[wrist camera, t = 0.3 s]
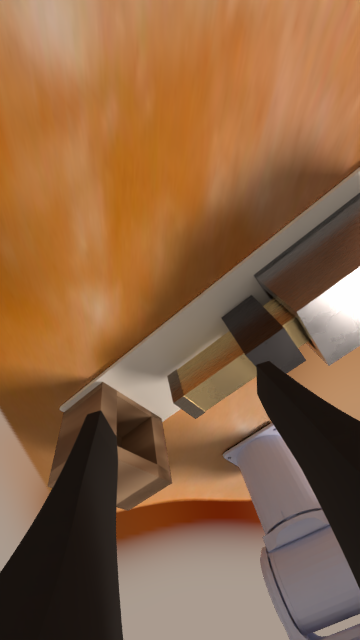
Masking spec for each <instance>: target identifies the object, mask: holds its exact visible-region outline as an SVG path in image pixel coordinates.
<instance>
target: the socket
mask: <svg viewBox="0 0 360 640" xmlns="http://www.w3.org/2000/svg"><path fill="white" fill-rule="evenodd" d="M100 410H101V411H102V413H103V414H104V416H105V418H106V420H107V421H108V423H109V425H110V426H111V428H112V430H113V432H114V433H115V435H116V437H117V449H118V481H117V504H116V507H118V508H121V509H125V510H130V509H132V508H133V507H135V506H136V505H138V504H139V503H141V502H143V501H144V500H146V499H147V498H149V497H151V496H152V495H154V494H155V493H157V492H158V491H160V490H162V489H163V488H165V487H166V486H168V485H170V484H171V483H172V479H171V473H170V467H169V461H168V455H167V448H166V442H165V436H164V430H163V424H162V418H160V417H159V416H157V415H156V414H154V413H152V412H151V411H149V410H148V409H146V408H144V407H143V406H141V405H139V404H138V403H136V402H135V401H133V400H131V399H130V398H128V397H127V396H125V395H123V394H122V393H120V392H119V391H117V390H115V389H114V388H112V387H111V386H109V385H107V384H106V383H104V382H102V383H100V384H99V385H98V386H97V387H95V388H94V389H93V390H91V391H90V392H89V393H88V394H86V395H85V396H84V397H83V398H81V399H80V400H79V401H78V402H76V403H75V404H74V405H72V406H71V407H70V408H69V409H67V410H66V411H65V412H64V414H63V419H62V423H61V428H60V432H59V437H58V441H57V446H56V450H55V455H54V459H53V464H52V469H51V473H50V478H49V482H48V487H51V488H53V486H54V484H55V482H56V480H57V478H58V477H59V475H60V473H61V471H62V469H63V467H64V465H65V462H66V460H67V458H68V456H69V454H70V452H71V450H72V447H73V445H74V443H75V441H76V438H77V436H78V434H79V432H80V429H81V427H82V425H83V422H84V420H85V417H86V416H87V414H90V413H93V412H97V411H100Z"/></svg>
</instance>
